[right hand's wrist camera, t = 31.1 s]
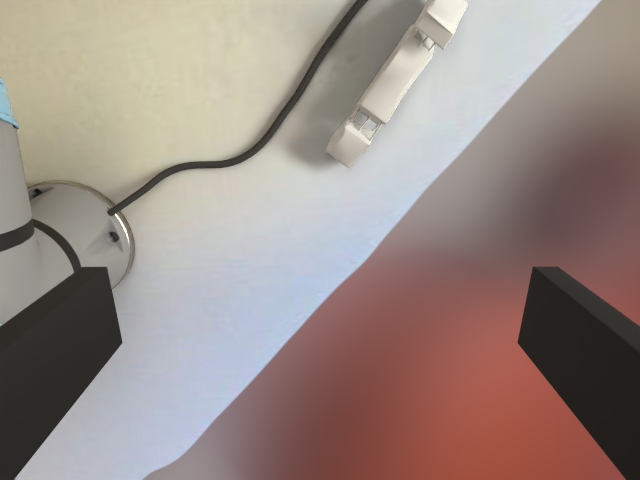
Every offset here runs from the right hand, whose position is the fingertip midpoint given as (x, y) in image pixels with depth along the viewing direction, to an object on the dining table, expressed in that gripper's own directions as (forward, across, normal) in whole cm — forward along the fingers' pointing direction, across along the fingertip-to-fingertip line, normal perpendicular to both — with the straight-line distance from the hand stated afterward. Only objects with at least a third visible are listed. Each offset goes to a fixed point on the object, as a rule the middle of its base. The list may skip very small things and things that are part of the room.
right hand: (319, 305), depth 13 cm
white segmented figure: (+36, -8, -8) cm, 38 cm away
